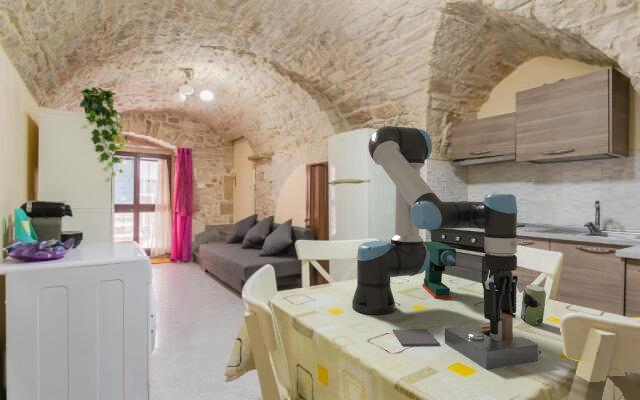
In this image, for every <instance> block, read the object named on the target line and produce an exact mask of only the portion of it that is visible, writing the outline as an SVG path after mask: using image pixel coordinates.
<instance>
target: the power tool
mask: <svg viewBox="0 0 640 400" xmlns="http://www.w3.org/2000/svg"><path fill="white" fill-rule="evenodd" d="M423 244H425V245H426V246H427V248H428V251H429V253H430V261H429V265H428V267H427V269H426V270H425V271H424V273H425V274H424V278H423V283H422V285H421V287H422V288H423V289H424V290H425V291H426V292H427V293H428V294H430V296H432V297H433V299H434V300H437V299H439V300H443V299H444V300H449V299H450V300H451V299H453V298H452V297H453V296H452V295H451V289H450V287H448V286H447V285H445V283H443V282H442V281H443V280H442V278H443V272H446V267H457V266H456V265H457V250H456V248H455V247H452V246H449V245H447V244H444V243H442V242H440V241H423Z"/></svg>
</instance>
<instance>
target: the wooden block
mask: <svg viewBox="0 0 640 400" xmlns="http://www.w3.org/2000/svg"><path fill="white" fill-rule="evenodd" d="M513 320H514V318H513V317H512V316H511V315H508V314H504V313H500V321H501V322H502V340H504V339H511V338H514V334H513V328H514V326H513Z"/></svg>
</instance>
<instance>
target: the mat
mask: <svg viewBox="0 0 640 400" xmlns="http://www.w3.org/2000/svg"><path fill="white" fill-rule="evenodd" d="M392 333H393V334H394V336H395V338H396V339H397V341H398V342H399V343H400V345H401V347H422V346H425V347H426V346H428V347H429V346H431V347H432V346H433V347H435V346H440V345H441V344H440V341H438V340H437V339H436V337H434V335H432V333H431V332H430V331H429V330H428V329H427V328H426V329H425V328H422V329H421V328H415V329H414V328H413V329H412V328H411V329H407V328H406V329H392Z"/></svg>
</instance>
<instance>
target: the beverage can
mask: <svg viewBox="0 0 640 400" xmlns="http://www.w3.org/2000/svg"><path fill="white" fill-rule="evenodd" d="M522 292H523V293H522V299H521V309H520V310H521V311H520V319H521V320H522V321H523V322H524V323H526V324H527V325H530V326H539V325H542V324H543V322H544V314H545V305H546V296H547V292H546V290H545V288H544V287H542V286H541V285H539V284H538V285H537V284H532V283H531V284H526V285H525V287H524V288H523V291H522Z"/></svg>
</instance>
